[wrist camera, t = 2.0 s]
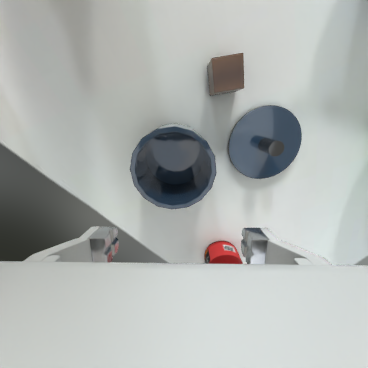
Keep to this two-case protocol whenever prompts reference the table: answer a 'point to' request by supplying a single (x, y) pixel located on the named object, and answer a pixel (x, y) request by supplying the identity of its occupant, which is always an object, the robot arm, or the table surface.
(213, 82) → the block
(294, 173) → the table surface
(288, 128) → the lid
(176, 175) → the pot
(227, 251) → the canned food
